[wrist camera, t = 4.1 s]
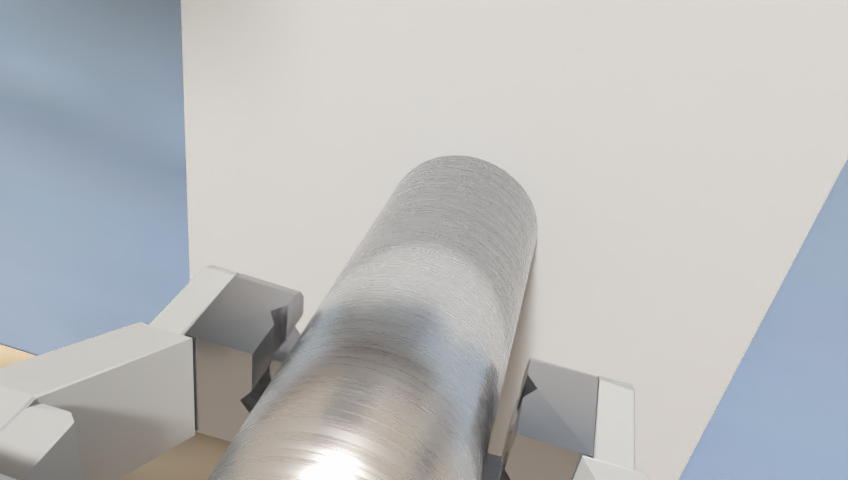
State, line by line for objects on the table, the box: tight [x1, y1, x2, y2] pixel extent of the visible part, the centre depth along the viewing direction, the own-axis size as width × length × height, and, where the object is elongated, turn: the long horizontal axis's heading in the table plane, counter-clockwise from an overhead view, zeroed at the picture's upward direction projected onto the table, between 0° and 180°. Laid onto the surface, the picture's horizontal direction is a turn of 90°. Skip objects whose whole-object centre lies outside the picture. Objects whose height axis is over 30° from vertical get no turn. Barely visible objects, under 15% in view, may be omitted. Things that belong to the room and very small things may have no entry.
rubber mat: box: [181, 0, 848, 480], centre depth 14 cm, size 12×12×1 cm
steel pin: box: [207, 155, 538, 480], centre depth 10 cm, size 3×3×9 cm
